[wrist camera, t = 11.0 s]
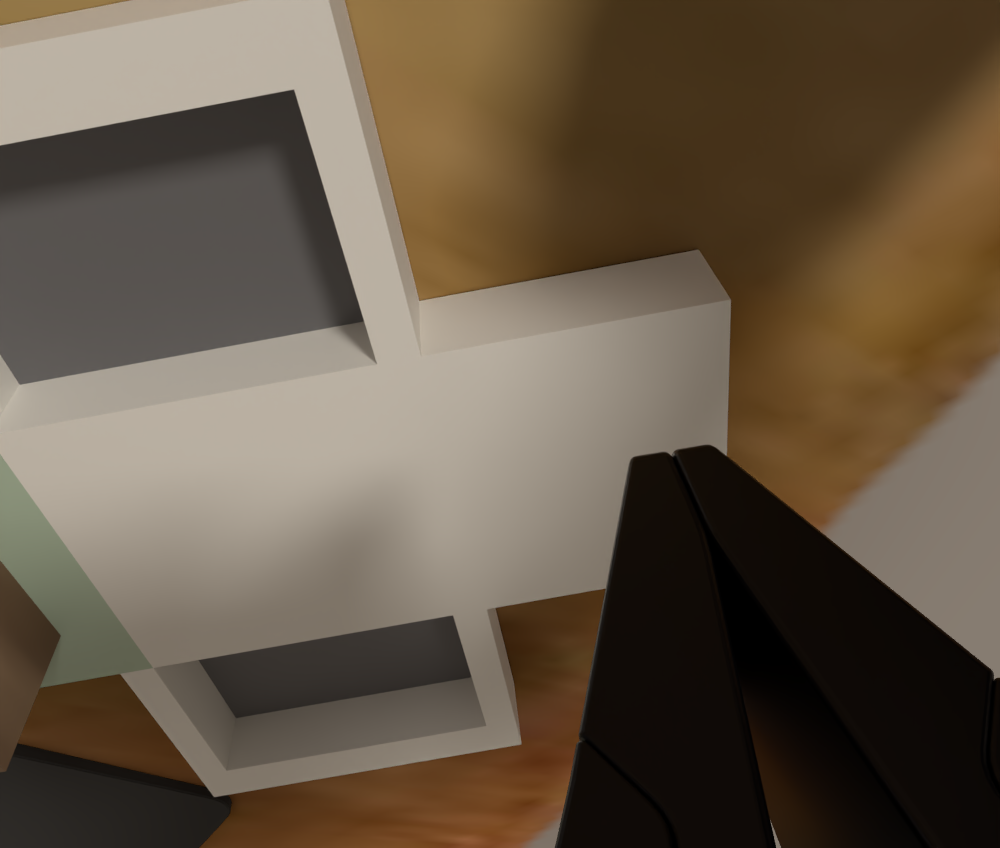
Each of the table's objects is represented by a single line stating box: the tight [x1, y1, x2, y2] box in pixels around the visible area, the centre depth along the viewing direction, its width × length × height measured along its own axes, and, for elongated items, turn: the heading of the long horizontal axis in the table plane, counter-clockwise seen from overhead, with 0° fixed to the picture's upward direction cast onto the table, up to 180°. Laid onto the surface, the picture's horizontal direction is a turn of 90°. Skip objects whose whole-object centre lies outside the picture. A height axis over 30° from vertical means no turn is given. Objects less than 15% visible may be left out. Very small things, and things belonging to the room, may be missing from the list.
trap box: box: [0, 0, 731, 797], centre depth 22 cm, size 25×24×2 cm
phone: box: [0, 743, 232, 848], centre depth 32 cm, size 7×1×15 cm
